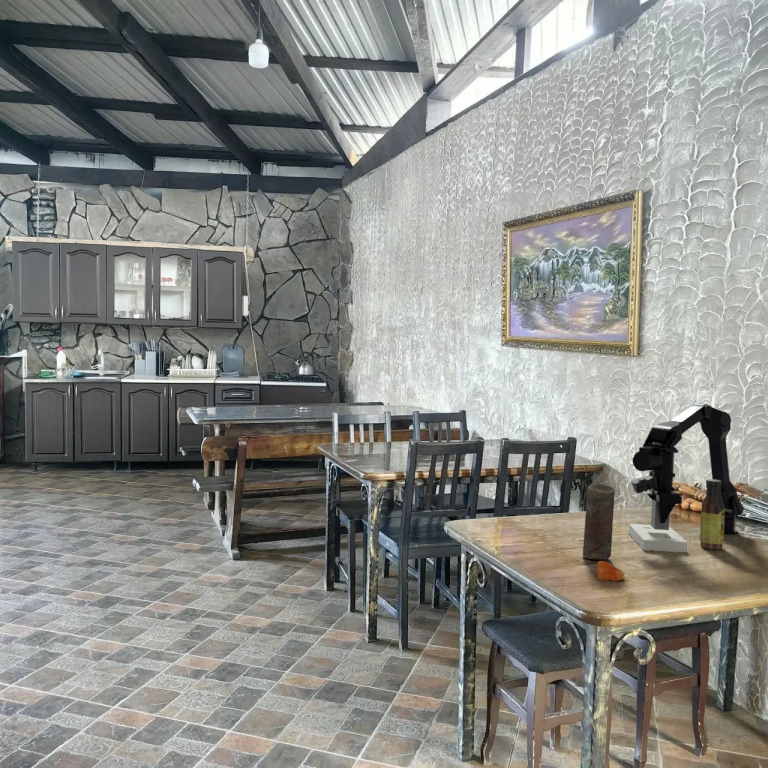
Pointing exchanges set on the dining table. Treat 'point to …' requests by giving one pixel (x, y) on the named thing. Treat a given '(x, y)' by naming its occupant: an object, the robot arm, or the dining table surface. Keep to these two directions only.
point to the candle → (598, 522)
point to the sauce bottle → (712, 517)
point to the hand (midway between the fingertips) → (660, 521)
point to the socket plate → (657, 538)
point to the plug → (658, 518)
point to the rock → (608, 572)
